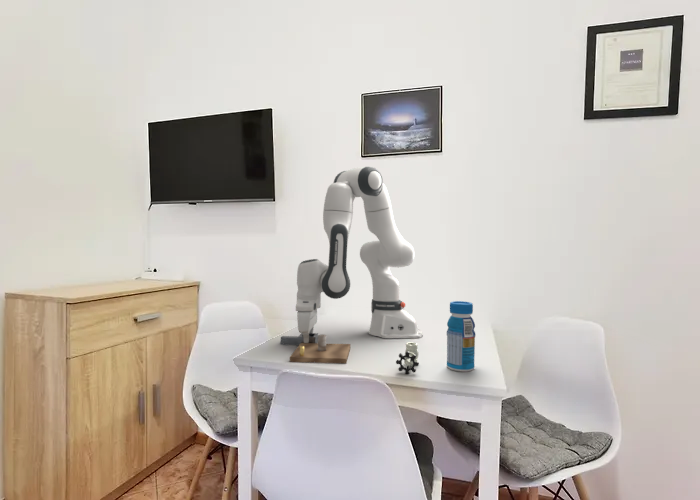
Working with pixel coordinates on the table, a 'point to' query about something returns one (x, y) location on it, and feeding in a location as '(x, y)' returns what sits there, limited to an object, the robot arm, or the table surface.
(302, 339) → the square loop paddle
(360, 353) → the table surface
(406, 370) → the valve
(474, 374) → the table surface
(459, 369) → the beverage bottle
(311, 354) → the base
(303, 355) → the dowel
